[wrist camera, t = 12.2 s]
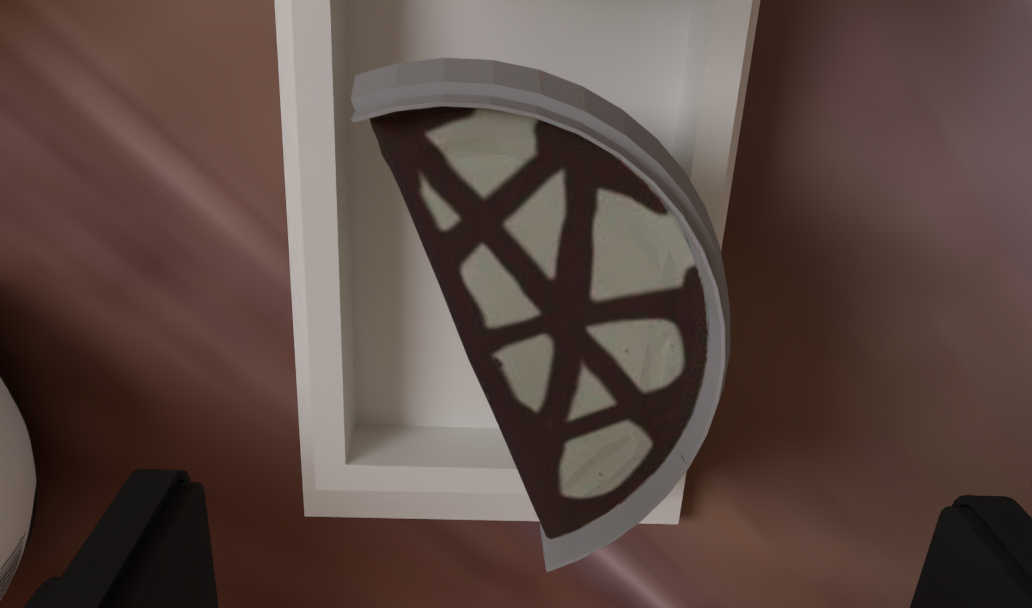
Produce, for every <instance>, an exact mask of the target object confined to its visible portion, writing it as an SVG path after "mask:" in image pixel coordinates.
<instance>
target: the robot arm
mask: <svg viewBox="0 0 1032 608" xmlns="http://www.w3.org/2000/svg"><path fill="white" fill-rule="evenodd" d="M24 608H218V600H217V591H216V583H215V575H214V567H213V558H212V550H211V542H210V534H209V525H208V517H207V509H206V501H205V493H204V488H203V486H202V484H201V483H198V482H190V478H189V476H188V474H187V472H186V471H184V470H164V469H137V470H135V471H134V472H133V473H132V474H131V475H130V477H129V478H128V479H127V481H126V482H125V484H124V485H123V487H122V488H121V490H120V491H119V493H118V494H117V496H116V497H115V499H114V500H113V501H112V503H111V504H110V506H109V507H108V509H107V510H106V512H105V513H104V515H103V516H102V518H101V519H100V521H99V522H98V524H97V525H96V526H95V528H94V529H93V531H92V532H91V534H90V535H89V537H88V538H87V540H86V541H85V543H84V544H83V546H82V547H81V549H80V550H79V551H78V553H77V554H76V556H75V557H74V559H73V560H72V562H71V563H70V565H69V566H68V568H67V569H66V571H65V572H64V574H63V575H62V576H61V577H52V578H51V579H49V580H47V581H45V582H44V583H43V584H42V585H41V586H40V587H39V588H38V589H37V591H36V592H35V593H34V594H33V596H32V597H31V599H30V600H29V601H28V603H27V604H26V606H25V607H24ZM910 608H1032V518H1031V517H1030V516H1029V515H1028V514H1027V513H1026V512H1025V511H1024V509H1023V508H1022V507H1021V506H1020V505H1019V504H1018V503H1017V502H1016V501H1014V500H1013V499H1012V498H1009V497H1005V496H973V495H964V496H960V497H958V498H957V499H956V500H955V501H954V503H953V505H952V506H948V507H945V508H944V509H943V510H942V511H941V514H940V516H939V519H938V522H937V525H936V528H935V531H934V534H933V537H932V541H931V544H930V547H929V550H928V553H927V556H926V559H925V562H924V566H923V569H922V572H921V575H920V578H919V581H918V584H917V587H916V591H915V594H914V597H913V600H912V603H911V606H910Z"/></svg>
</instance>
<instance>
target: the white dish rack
mask: <svg viewBox="0 0 1032 608" xmlns="http://www.w3.org/2000/svg"><path fill="white" fill-rule="evenodd" d="M759 6H760V0H275V16H276V33H277V50H278V68H279V85H280V102H281V120H282V137H283V154H284V172H285V189H286V206H287V224H288V241H289V258H290V276H291V293H292V310H293V328H294V345H295V362H296V380H297V397H298V414H299V432H300V449H301V466H302V484H303V501H304V516H311V517H359V518H407V519H454V520H502V521H539V519H538V517H537V514H536V512H535V510H534V507H533V505H532V503H531V501H530V498H529V496H528V494H527V491H526V489H525V487H524V484H523V482H522V479H521V477H520V475H519V472H518V470H517V468H516V465H515V463H514V461H513V458H512V456H511V454H510V451H509V449H508V446H507V444H506V442H505V440H504V437H503V435H502V433H501V430H500V428H499V426H498V423H497V421H496V419H495V417H494V414H493V412H492V410H491V407H490V405H489V403H488V401H487V399H486V396H485V394H484V392H483V390H482V388H481V386H480V383H479V381H478V379H477V377H476V375H475V373H474V370H473V368H472V366H471V364H470V362H469V360H468V357H467V354H466V352H465V349H464V347H463V344H462V342H461V339H460V337H459V334H458V332H457V329H456V326H455V324H454V321H453V319H452V316H451V314H450V311H449V309H448V306H447V304H446V301H445V298H444V296H443V293H442V291H441V288H440V286H439V283H438V281H437V279H436V276H435V274H434V271H433V269H432V266H431V264H430V262H429V259H428V257H427V254H426V252H425V250H424V247H423V245H422V242H421V240H420V237H419V235H418V233H417V230H416V228H415V225H414V223H413V220H412V218H411V216H410V213H409V211H408V208H407V206H406V203H405V201H404V199H403V196H402V194H401V191H400V189H399V187H398V185H397V182H396V180H395V178H394V176H393V174H392V171H391V169H390V168H389V166H388V164H387V163H386V161H385V159H384V158H383V156H382V154H381V150H380V147H379V143H378V140H377V138H376V135H375V133H374V131H373V129H372V126H371V122H370V119H365V120H361V121H358V122H354V123H353V121H352V119H351V118H352V116H353V114H354V113H355V111H356V110H355V108H354V106H353V104H352V101H351V95H352V90H353V85H354V79H355V75H358V74H361V73H365V72H368V71H372V70H375V69H379V68H382V67H386V66H389V65H393V64H397V63H405V62H413V61H422V60H430V59H439V58H461V59H483V60H495V61H500V62H505V63H510V64H515V65H520V66H524V67H529V68H534V69H539V70H542V71H544V72H547V73H549V74H552V75H555V76H557V77H560V78H562V79H565V80H568V81H570V82H573V83H575V84H578V85H581V86H583V87H585V88H587V89H588V90H590V91H592V92H593V93H595V94H597V95H599V96H600V97H602V98H604V99H605V100H607V101H609V102H610V103H612V104H614V105H616V106H617V107H619V108H621V109H622V110H624V111H625V112H626V113H627V114H628V115H630V116H631V117H632V118H633V119H634V120H636V121H637V122H638V123H639V124H640V125H642V126H643V127H644V128H645V129H646V130H647V131H649V132H650V133H651V134H652V135H653V136H655V137H656V138H657V139H658V140H659V142H660V143H661V144H662V145H663V146H664V147H665V149H666V150H667V151H668V152H669V153H670V155H671V156H672V157H673V158H674V159H675V160H676V162H677V163H678V164H679V165H680V166H681V168H682V169H683V170H684V171H685V173H686V174H687V176H688V178H689V180H690V181H691V183H692V185H693V186H694V188H695V190H696V191H697V193H698V195H699V197H700V198H701V200H702V202H703V203H704V205H705V207H706V209H707V212H708V215H709V217H710V220H711V223H712V226H713V228H714V231H715V234H716V236H717V239H718V242H719V244H720V249H722V242H723V236H724V230H725V223H726V217H727V210H728V204H729V198H730V191H731V185H732V179H733V172H734V166H735V159H736V153H737V147H738V140H739V134H740V127H741V121H742V115H743V108H744V102H745V96H746V89H747V83H748V76H749V70H750V64H751V57H752V51H753V45H754V38H755V32H756V25H757V19H758V13H759ZM686 472H687V471H686ZM686 472H685V474H684V475H683V476H682V478H681V479H680V480H679V482H678V483H677V484H676V485H675V487H674V488H673V489H672V491H671V492H670V493H669V495H668V496H667V497H666V498H665V499H664V500H663V501H662V502H661V503H660V504H659V505H658V506H657V507H656V508H654V509H653V510H652V511H651V512H650V513H649V514H648V515H647V516H646V517H645V518H644V519H643V520H642V521H641V522H640V523H645V524H678V523H679V517H680V510H681V504H682V498H683V491H684V485H685V478H686Z"/></svg>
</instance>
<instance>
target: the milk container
mask: <svg viewBox="0 0 1032 608" xmlns="http://www.w3.org/2000/svg"><path fill="white" fill-rule="evenodd" d="M36 502H37V481H36V469H35V462H34V456H33V450H32V444H31V437H30V434H29V430H28V426H27V422H26V419H25V417H24V415H23V413H22V411H21V409H20V407H19V405H18V402H17V401H16V399H15V397H14V396H13V394H12V392H11V390H10V389H9V387H8V385H7V383H6V382H5V380H4V378H3V377H2V375H1V373H0V601H1V600H2V598H3V596H4V594H5V592H6V590H7V588H8V587H9V585H10V583H11V581H12V579H13V576H14V574H15V572H16V570H17V568H18V566H19V563H20V561H21V558H22V556H23V553H24V551H25V548H26V545H27V543H28V540H29V537H30V535H31V531H32V527H33V523H34V518H35V511H36Z"/></svg>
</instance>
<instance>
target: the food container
mask: <svg viewBox="0 0 1032 608" xmlns="http://www.w3.org/2000/svg"><path fill="white" fill-rule="evenodd" d="M351 101H352V104H353V106H354V108H355V110H356V111H355V113H354V114H353V116H352V118H351V119H352V121H353V123H354V122H358V121H361V120H365V119H370V122H371V126H372V129H373V131H374V133H375V135H376V138H377V140H378V143H379V147H380V150H381V154H382V156H383V158H384V159H385V161H386V163H387V164H388V166H389V168H390V169H391V171H392V174H393V176H394V178H395V180H396V182H397V185H398V187H399V189H400V191H401V194H402V196H403V199H404V201H405V203H406V206H407V208H408V211H409V213H410V216H411V218H412V220H413V223H414V225H415V228H416V230H417V233H418V235H419V237H420V240H421V242H422V245H423V247H424V250H425V252H426V254H427V257H428V259H429V262H430V264H431V266H432V269H433V271H434V274H435V276H436V279H437V281H438V283H439V286H440V288H441V291H442V293H443V296H444V298H445V301H446V304H447V306H448V309H449V311H450V314H451V316H452V319H453V321H454V324H455V326H456V329H457V332H458V334H459V337H460V339H461V342H462V344H463V347H464V349H465V352H466V354H467V357H468V360H469V362H470V364H471V366H472V368H473V370H474V373H475V375H476V377H477V379H478V381H479V383H480V386H481V388H482V390H483V392H484V394H485V396H486V399H487V401H488V403H489V405H490V407H491V410H492V412H493V414H494V417H495V419H496V421H497V423H498V426H499V428H500V430H501V433H502V435H503V437H504V440H505V442H506V444H507V446H508V449H509V451H510V454H511V456H512V458H513V461H514V463H515V465H516V468H517V470H518V472H519V475H520V477H521V479H522V482H523V484H524V487H525V489H526V491H527V494H528V496H529V498H530V501H531V503H532V505H533V507H534V510H535V512H536V514H537V517H538V519H539V521H540V529H541V536H542V544H543V551H544V559H545V566H546V571H547V572H549V571H552V570H554V569H557V568H560V567H562V566H565V565H568V564H570V563H573V562H575V561H578V560H580V559H582V558H584V557H586V556H588V555H590V554H592V553H593V552H595V551H597V550H599V549H601V548H603V547H605V546H606V545H608V544H610V543H612V542H613V541H615V540H616V539H618V538H619V537H620V536H622V535H623V534H624V533H626V532H627V531H629V530H630V529H631V528H633V527H634V526H635V525H637V524H638V523H640V522H641V521H642V520H643V519H644V518H645V517H646V516H647V515H648V514H649V513H650V512H651V511H652V510H653V509H654V508H656V507H657V506H658V505H659V504H660V503H661V502H662V501H663V500H664V499H665V498H666V497H667V496H668V495H669V493H670V492H671V491H672V489H673V488H674V487H675V485H676V484H677V483H678V482H679V480H680V479H681V478H682V476H683V475H684V474H685V472H686V471H687V470H688V468H689V467H690V465H691V464H692V462H693V460H694V458H695V456H696V454H697V452H698V451H699V449H700V447H701V445H702V443H703V441H704V440H705V438H706V436H707V434H708V431H709V428H710V425H711V422H712V420H713V417H714V414H715V411H716V408H717V405H718V403H719V400H720V397H721V394H722V391H723V389H724V384H725V378H726V373H727V367H728V361H729V355H730V305H729V297H728V290H727V282H726V277H725V271H724V266H723V260H722V255H721V249H720V244H719V242H718V239H717V236H716V234H715V231H714V228H713V226H712V223H711V220H710V217H709V215H708V212H707V209H706V207H705V205H704V203H703V202H702V200H701V198H700V197H699V195H698V193H697V191H696V190H695V188H694V186H693V185H692V183H691V181H690V180H689V178H688V176H687V174H686V173H685V171H684V170H683V169H682V168H681V166H680V165H679V164H678V163H677V162H676V160H675V159H674V158H673V157H672V156H671V155H670V153H669V152H668V151H667V150H666V149H665V147H664V146H663V145H662V144H661V143H660V142H659V140H658V139H657V138H656V137H655V136H653V135H652V134H651V133H650V132H649V131H647V130H646V129H645V128H644V127H643V126H642V125H640V124H639V123H638V122H637V121H636V120H634V119H633V118H632V117H631V116H630V115H628V114H627V113H626V112H625V111H624V110H622V109H621V108H619V107H617V106H616V105H614V104H612V103H610V102H609V101H607V100H605V99H604V98H602V97H600V96H599V95H597V94H595V93H593V92H592V91H590V90H588V89H587V88H585V87H583V86H581V85H578V84H575V83H573V82H570V81H568V80H565V79H562V78H560V77H557V76H555V75H552V74H549V73H547V72H544V71H542V70H539V69H534V68H529V67H524V66H520V65H515V64H510V63H505V62H500V61H495V60H483V59H461V58H439V59H430V60H422V61H413V62H405V63H397V64H393V65H389V66H386V67H382V68H379V69H375V70H372V71H368V72H365V73H361V74H358V75H355V79H354V85H353V90H352V95H351Z"/></svg>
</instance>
